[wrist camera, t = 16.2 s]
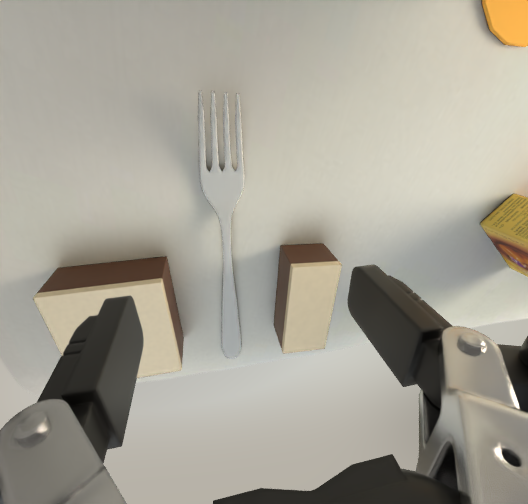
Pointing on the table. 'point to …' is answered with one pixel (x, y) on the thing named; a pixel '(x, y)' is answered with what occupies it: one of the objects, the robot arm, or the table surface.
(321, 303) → the cake slice
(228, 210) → the fork
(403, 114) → the table surface
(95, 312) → the cake
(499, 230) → the candy box
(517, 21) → the cup
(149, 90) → the table surface
